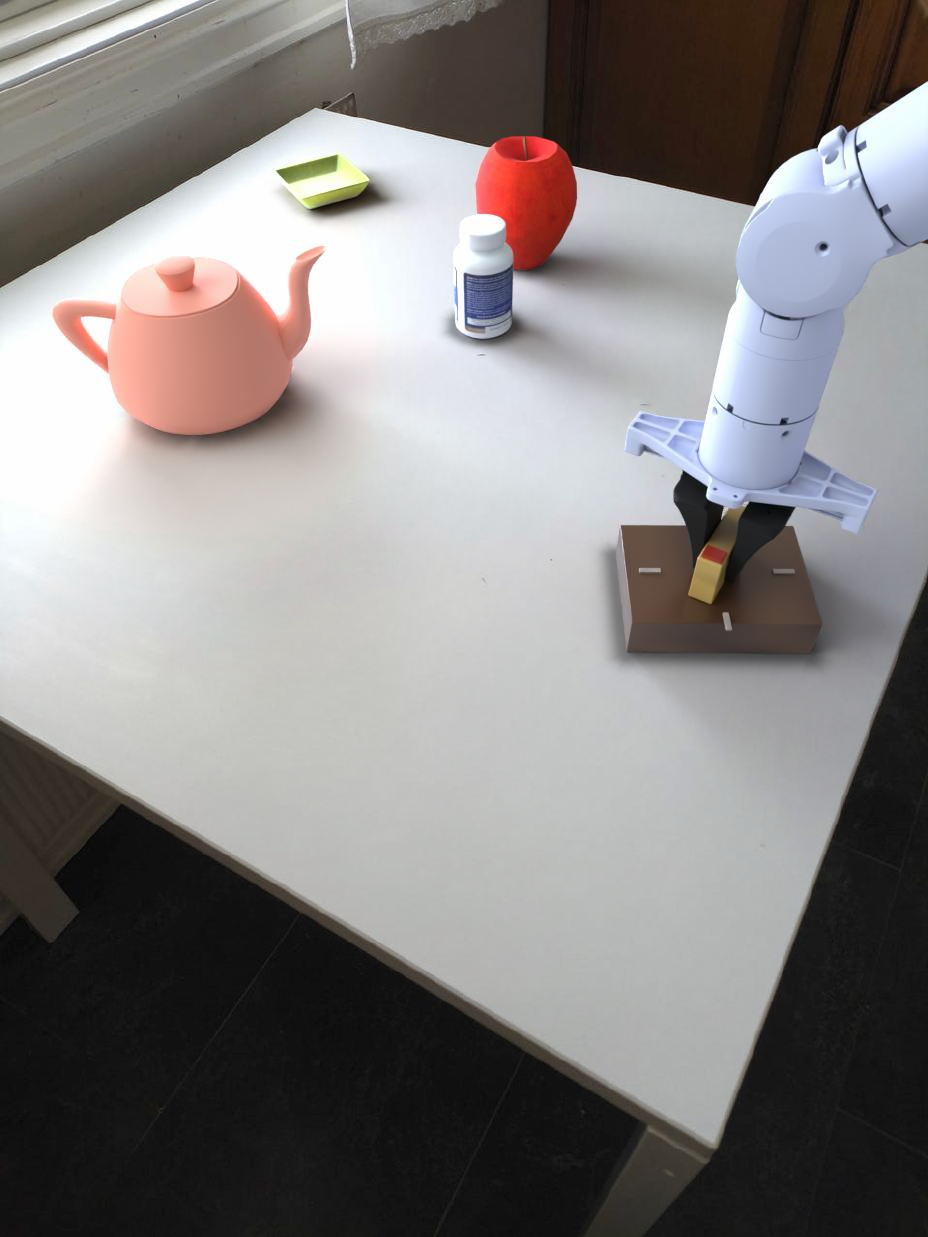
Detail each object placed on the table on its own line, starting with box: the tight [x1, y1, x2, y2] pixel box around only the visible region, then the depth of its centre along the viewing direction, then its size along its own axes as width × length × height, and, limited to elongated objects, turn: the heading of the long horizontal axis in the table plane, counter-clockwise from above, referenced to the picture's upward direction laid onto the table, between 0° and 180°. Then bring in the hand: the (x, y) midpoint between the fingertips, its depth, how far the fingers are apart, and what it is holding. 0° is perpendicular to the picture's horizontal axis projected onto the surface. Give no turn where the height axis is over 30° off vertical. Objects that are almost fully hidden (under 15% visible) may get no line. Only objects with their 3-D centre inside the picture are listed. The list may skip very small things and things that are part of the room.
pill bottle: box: [452, 214, 514, 340], centre depth 82 cm, size 5×5×10 cm
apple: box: [474, 135, 578, 271], centre depth 88 cm, size 10×10×12 cm
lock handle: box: [689, 505, 746, 604], centre depth 58 cm, size 6×2×4 cm, turn 149°
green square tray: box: [272, 153, 371, 210], centre depth 104 cm, size 9×9×2 cm
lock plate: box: [615, 524, 824, 655], centre depth 61 cm, size 12×10×3 cm
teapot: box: [52, 245, 327, 436], centre depth 74 cm, size 22×15×12 cm
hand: (717, 566), depth 60 cm, fingers closed on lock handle, 2 cm apart
